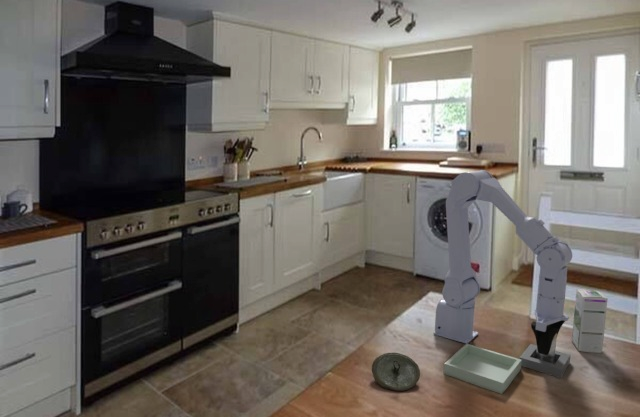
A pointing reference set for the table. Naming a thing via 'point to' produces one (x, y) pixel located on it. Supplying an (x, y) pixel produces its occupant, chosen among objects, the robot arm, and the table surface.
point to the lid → (395, 371)
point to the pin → (551, 355)
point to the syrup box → (589, 320)
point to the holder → (543, 366)
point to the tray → (483, 368)
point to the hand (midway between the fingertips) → (545, 350)
